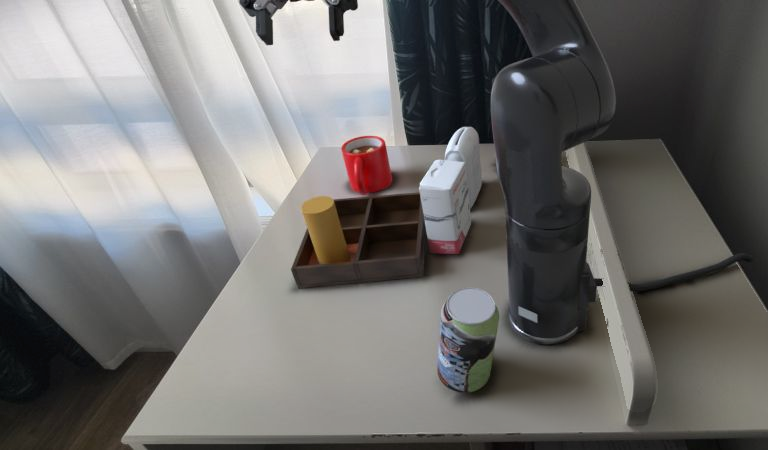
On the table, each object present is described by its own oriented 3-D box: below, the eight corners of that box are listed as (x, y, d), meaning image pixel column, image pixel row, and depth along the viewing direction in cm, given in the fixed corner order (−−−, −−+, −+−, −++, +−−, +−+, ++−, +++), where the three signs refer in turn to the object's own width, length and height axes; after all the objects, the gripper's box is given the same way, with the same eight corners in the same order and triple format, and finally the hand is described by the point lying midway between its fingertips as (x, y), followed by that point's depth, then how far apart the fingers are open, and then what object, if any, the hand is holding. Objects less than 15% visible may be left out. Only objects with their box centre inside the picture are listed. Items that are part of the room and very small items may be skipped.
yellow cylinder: (351, 250, 75) (336, 194, 69) (347, 268, 72) (330, 211, 66) (322, 252, 75) (305, 197, 69) (316, 271, 71) (297, 214, 66)
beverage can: (442, 354, 59) (430, 280, 52) (503, 354, 59) (499, 279, 52) (435, 400, 54) (420, 324, 47) (502, 400, 53) (497, 323, 46)
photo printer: (462, 181, 92) (456, 119, 85) (484, 182, 92) (480, 120, 84) (447, 211, 84) (439, 146, 77) (471, 213, 83) (465, 147, 76)
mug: (343, 206, 87) (332, 167, 82) (353, 173, 97) (344, 137, 92) (388, 203, 87) (380, 164, 83) (394, 170, 97) (387, 133, 92)
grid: (426, 209, 85) (424, 191, 83) (423, 277, 71) (419, 257, 68) (323, 218, 84) (317, 200, 82) (297, 288, 70) (290, 269, 68)
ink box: (458, 256, 74) (450, 189, 67) (427, 253, 75) (416, 187, 68) (472, 223, 81) (466, 159, 74) (444, 221, 82) (435, 157, 75)
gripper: (228, -92, 61) (229, 27, 58) (344, -99, 62) (349, 19, 59) (255, -49, 68) (257, 58, 66) (358, -55, 69) (364, 51, 66)
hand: (301, 39), depth 62 cm, fingers open, 8 cm apart
